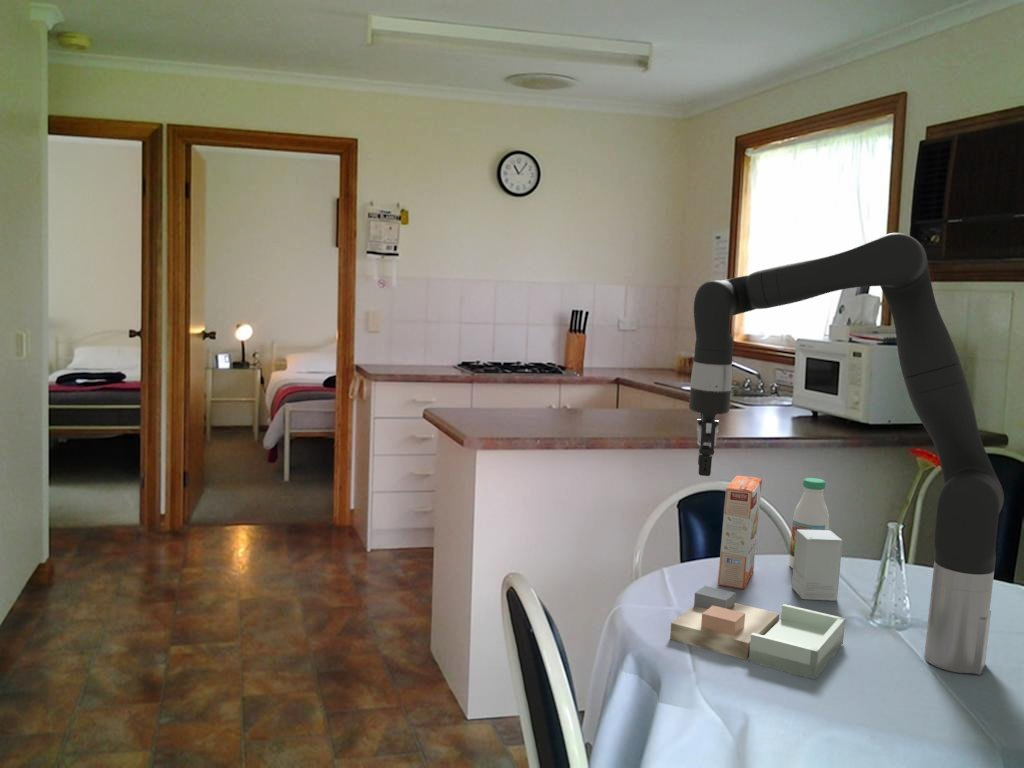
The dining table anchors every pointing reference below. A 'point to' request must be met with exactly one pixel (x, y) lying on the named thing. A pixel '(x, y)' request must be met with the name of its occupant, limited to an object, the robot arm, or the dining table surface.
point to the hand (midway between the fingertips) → (703, 470)
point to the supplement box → (817, 564)
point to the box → (799, 642)
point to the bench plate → (737, 646)
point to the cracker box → (739, 531)
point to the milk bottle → (809, 511)
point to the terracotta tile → (723, 620)
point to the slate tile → (714, 598)
